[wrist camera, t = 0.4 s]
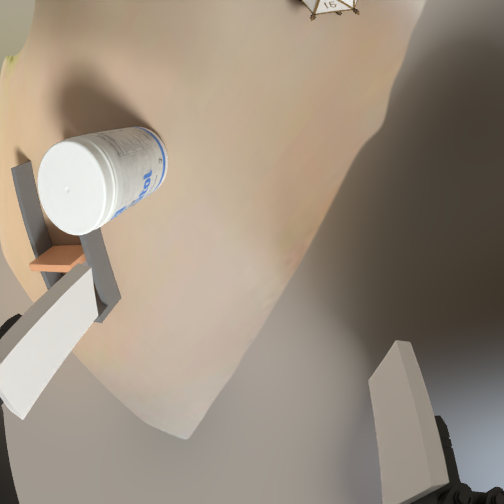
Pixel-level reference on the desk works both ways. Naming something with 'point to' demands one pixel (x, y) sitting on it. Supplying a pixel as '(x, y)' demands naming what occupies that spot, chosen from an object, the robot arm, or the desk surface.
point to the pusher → (59, 259)
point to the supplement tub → (99, 176)
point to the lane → (40, 243)
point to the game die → (330, 6)
